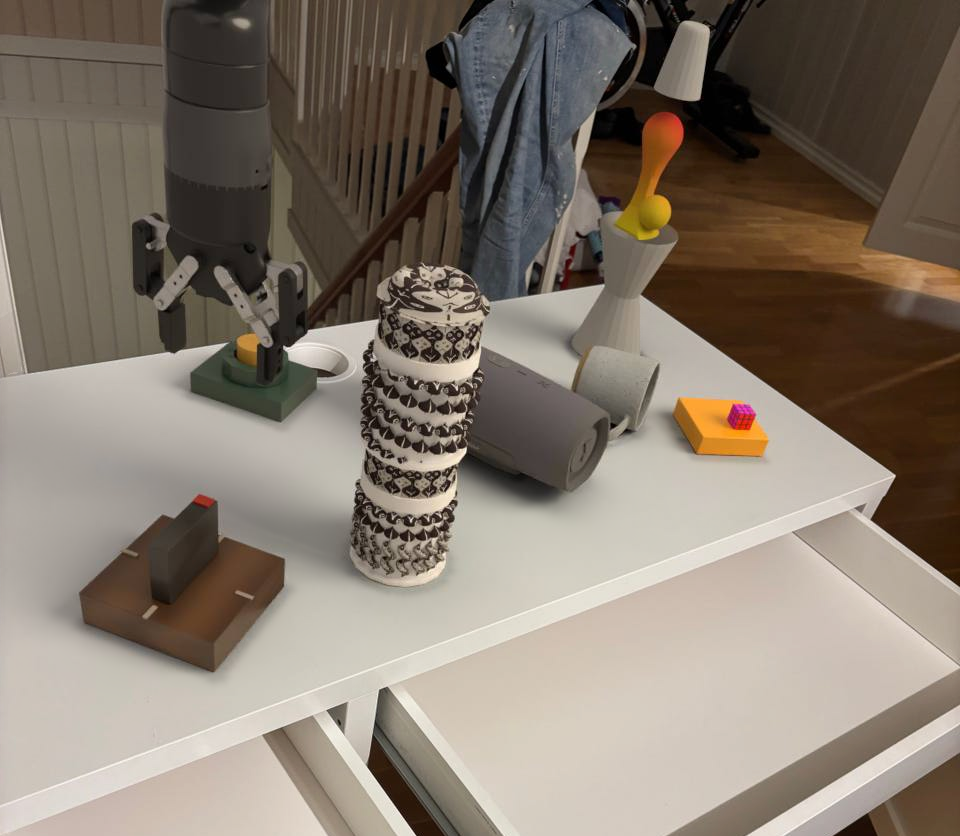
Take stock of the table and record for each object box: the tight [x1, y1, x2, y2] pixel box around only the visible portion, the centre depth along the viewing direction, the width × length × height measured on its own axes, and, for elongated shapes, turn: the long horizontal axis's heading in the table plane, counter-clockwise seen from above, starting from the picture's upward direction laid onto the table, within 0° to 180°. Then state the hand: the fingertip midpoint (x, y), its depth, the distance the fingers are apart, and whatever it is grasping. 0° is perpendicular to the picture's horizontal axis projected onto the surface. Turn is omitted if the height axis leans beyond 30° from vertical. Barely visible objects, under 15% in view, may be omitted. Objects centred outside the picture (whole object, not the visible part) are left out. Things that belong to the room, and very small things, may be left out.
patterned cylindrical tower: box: [349, 261, 491, 588], centre depth 76 cm, size 9×9×25 cm
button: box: [236, 333, 260, 366], centre depth 97 cm, size 4×4×2 cm
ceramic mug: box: [570, 346, 661, 443], centre depth 104 cm, size 11×8×8 cm
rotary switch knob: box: [147, 493, 220, 604], centre depth 72 cm, size 7×2×5 cm, turn 161°
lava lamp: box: [571, 20, 711, 357], centre depth 108 cm, size 9×9×35 cm
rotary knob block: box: [78, 514, 286, 673], centre depth 75 cm, size 11×11×3 cm
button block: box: [189, 340, 318, 423], centre depth 99 cm, size 10×8×4 cm
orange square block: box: [672, 397, 770, 457], centre depth 108 cm, size 8×8×4 cm
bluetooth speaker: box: [466, 345, 612, 493], centre depth 96 cm, size 23×9×10 cm, turn 56°
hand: (221, 365), depth 81 cm, fingers open, 8 cm apart
